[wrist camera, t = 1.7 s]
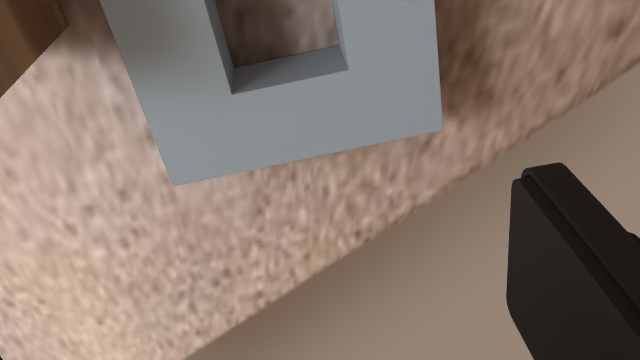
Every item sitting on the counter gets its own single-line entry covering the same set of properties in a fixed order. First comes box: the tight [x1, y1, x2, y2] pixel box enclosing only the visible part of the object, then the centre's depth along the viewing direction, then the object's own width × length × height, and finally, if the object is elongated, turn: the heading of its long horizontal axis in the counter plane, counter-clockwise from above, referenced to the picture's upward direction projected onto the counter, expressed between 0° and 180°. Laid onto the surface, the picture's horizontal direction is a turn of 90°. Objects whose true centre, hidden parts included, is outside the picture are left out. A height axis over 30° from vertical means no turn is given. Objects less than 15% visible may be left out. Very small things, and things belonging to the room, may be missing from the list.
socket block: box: [99, 0, 443, 186], centre depth 26 cm, size 14×14×4 cm
